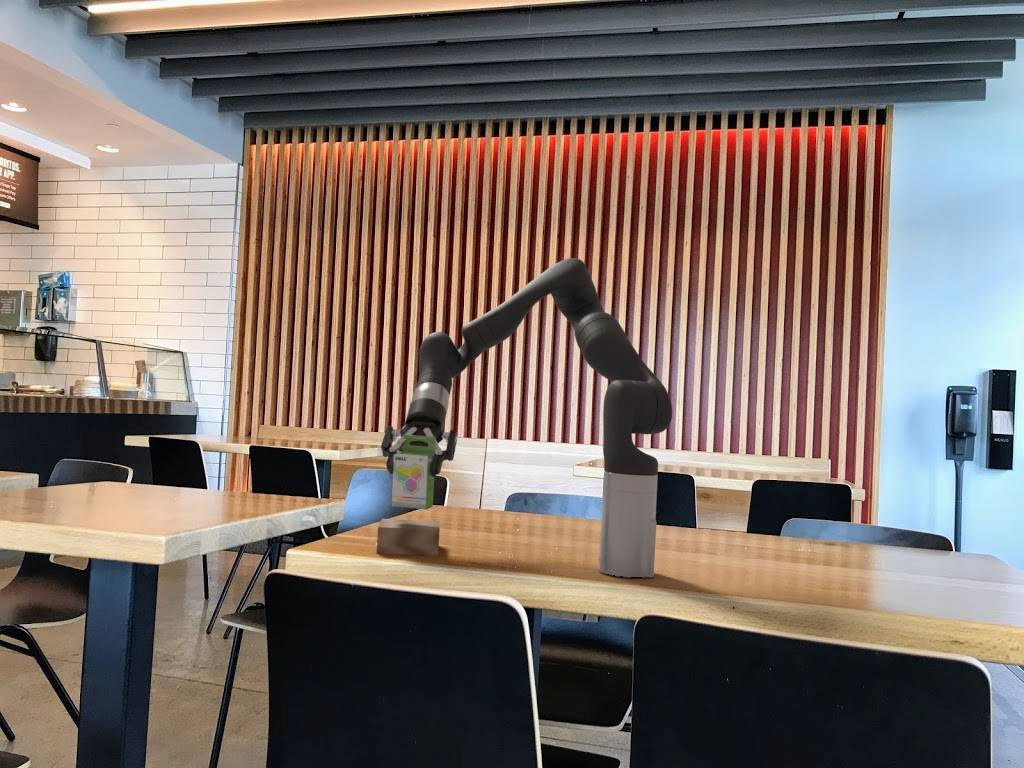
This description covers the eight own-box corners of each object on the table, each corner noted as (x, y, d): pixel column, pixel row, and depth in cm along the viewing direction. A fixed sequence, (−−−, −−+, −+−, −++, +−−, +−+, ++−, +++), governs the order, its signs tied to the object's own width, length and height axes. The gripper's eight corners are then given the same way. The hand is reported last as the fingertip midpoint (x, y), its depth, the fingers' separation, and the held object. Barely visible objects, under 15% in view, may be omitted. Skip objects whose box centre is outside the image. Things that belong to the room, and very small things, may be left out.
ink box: (390, 506, 150) (394, 434, 150) (399, 504, 154) (403, 434, 154) (425, 510, 148) (428, 437, 148) (433, 507, 152) (437, 436, 152)
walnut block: (437, 547, 156) (439, 521, 156) (437, 557, 145) (439, 529, 146) (380, 544, 155) (381, 518, 155) (376, 555, 144) (378, 527, 144)
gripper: (464, 425, 163) (451, 488, 151) (395, 421, 165) (377, 483, 153) (461, 398, 158) (447, 461, 146) (390, 394, 160) (371, 457, 148)
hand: (411, 472), depth 150 cm, fingers closed on ink box, 7 cm apart
